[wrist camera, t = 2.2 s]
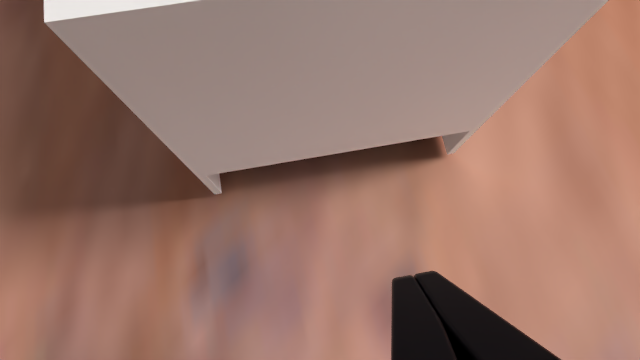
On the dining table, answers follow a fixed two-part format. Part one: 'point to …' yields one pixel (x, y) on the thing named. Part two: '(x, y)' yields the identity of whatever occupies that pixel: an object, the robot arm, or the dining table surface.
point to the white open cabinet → (311, 69)
